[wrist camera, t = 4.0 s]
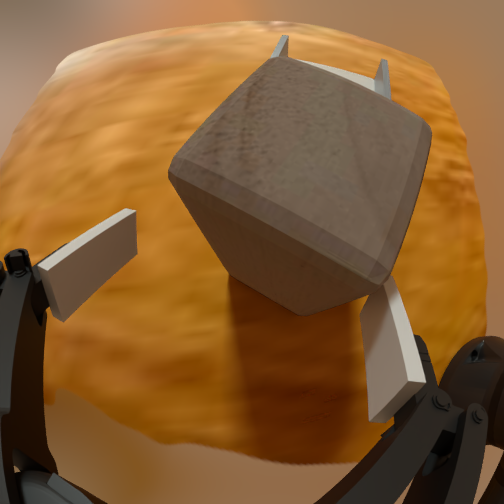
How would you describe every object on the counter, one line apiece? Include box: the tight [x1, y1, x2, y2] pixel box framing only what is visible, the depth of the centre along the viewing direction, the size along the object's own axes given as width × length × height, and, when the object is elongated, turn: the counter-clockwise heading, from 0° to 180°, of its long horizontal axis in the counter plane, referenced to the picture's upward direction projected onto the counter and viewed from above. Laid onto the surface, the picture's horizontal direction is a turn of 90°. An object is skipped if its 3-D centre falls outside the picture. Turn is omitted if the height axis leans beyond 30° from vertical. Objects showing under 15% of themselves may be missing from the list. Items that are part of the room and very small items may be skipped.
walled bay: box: [270, 35, 391, 100], centre depth 34 cm, size 13×18×6 cm
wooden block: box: [168, 57, 432, 316], centre depth 20 cm, size 10×10×20 cm
